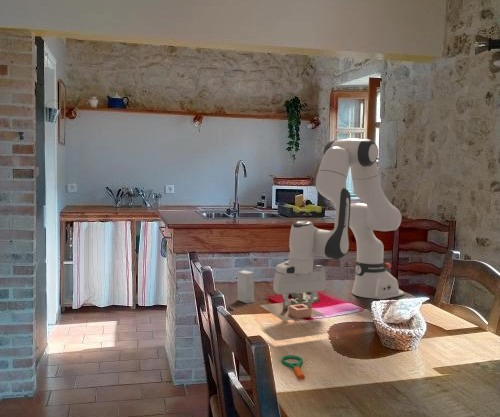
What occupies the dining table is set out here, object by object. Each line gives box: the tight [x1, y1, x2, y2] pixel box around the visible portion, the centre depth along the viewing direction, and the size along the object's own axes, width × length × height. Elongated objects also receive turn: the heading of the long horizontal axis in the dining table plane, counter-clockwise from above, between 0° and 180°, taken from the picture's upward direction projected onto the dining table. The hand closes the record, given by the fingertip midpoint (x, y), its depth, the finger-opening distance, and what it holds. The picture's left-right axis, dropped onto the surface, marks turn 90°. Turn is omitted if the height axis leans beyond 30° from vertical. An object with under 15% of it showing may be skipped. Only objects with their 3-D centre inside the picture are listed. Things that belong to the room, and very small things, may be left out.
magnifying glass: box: [281, 354, 306, 380], centre depth 149 cm, size 15×6×2 cm, turn 8°
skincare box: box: [236, 269, 255, 304], centre depth 215 cm, size 6×4×12 cm
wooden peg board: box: [259, 292, 325, 322], centre depth 199 cm, size 17×20×8 cm
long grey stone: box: [289, 292, 320, 304], centre depth 226 cm, size 35×5×10 cm
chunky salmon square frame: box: [289, 304, 313, 319], centre depth 193 cm, size 6×6×3 cm
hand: (299, 304), depth 192 cm, fingers open, 8 cm apart
